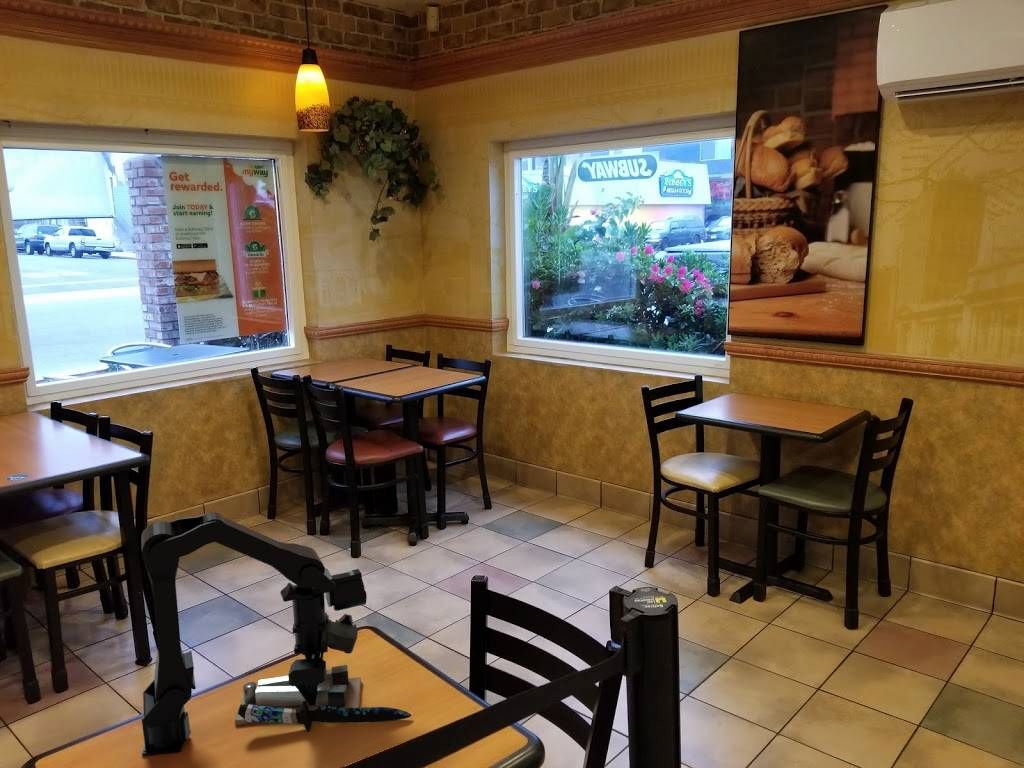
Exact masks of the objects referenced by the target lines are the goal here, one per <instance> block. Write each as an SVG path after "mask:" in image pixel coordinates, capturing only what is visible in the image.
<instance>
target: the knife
mask: <svg viewBox="0 0 1024 768" xmlns="http://www.w3.org/2000/svg"><path fill="white" fill-rule="evenodd" d="M239 706H240V708H239V707H238V709H239V711H238V710H237V712H238V714H239V715H240V716H241V717H242V718H243V719H245V720H246V721H248V722H262V723H267V724H268V723H271V724H298V725H303V727H304V728H305V732H306V733H309V732H311V729H312V726H313V723H329V724H330V723H331V724H333V723H334V724H337V723H338V724H343V723H344V724H345V723H346V724H349V723H350V724H351V723H353V724H357V723H359V724H360V723H361V724H362V723H378V722H379V723H380V722H391V721H392V722H394V721H401V720H405V719H408V718H410V717H412V714H411V713H409V712H408V711H405V710H403V709H399V708H396V707H395V708H393V707H388V706H387V707H386V706H371V707H370V706H368V707H367V706H366V707H359V708H338V707H332V706H327V705H324V704H321V703H320V706H319V708H318V709H316V710H309V708H308V705H307V702H306V701H303V702H302V704H301V708H300V709H296V710H295V709H286V708H276V707H267V706H258V705H249V704H243V705H240V704H239Z"/></svg>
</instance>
